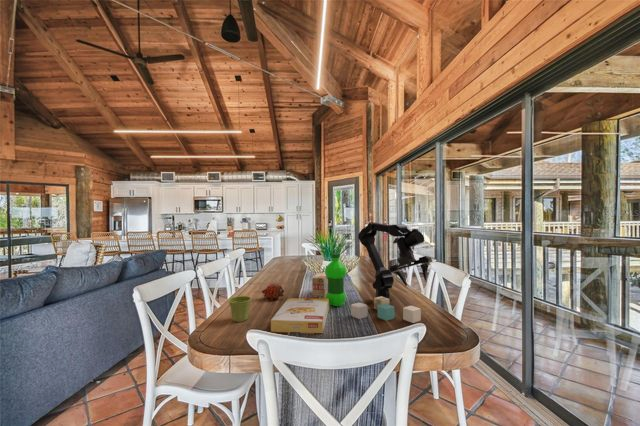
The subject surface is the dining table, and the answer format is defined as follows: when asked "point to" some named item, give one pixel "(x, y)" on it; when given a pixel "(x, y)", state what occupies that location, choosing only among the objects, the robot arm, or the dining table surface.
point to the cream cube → (412, 314)
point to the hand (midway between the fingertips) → (416, 283)
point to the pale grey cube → (359, 310)
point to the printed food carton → (319, 285)
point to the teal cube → (385, 312)
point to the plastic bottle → (335, 281)
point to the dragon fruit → (273, 291)
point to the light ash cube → (381, 301)
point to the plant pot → (239, 308)
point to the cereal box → (301, 315)
